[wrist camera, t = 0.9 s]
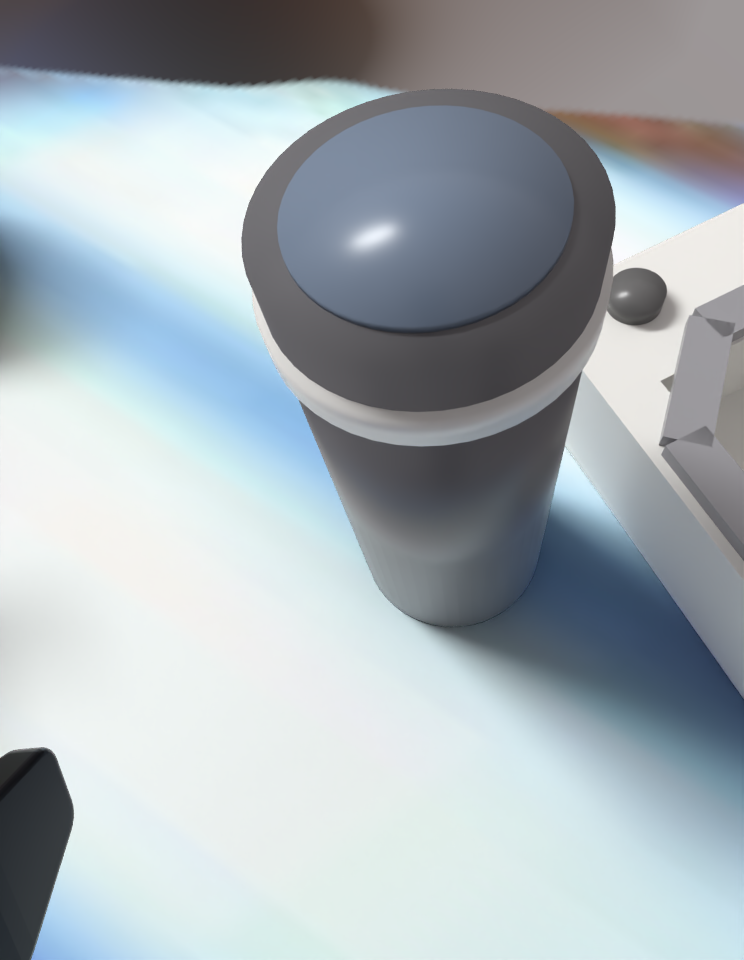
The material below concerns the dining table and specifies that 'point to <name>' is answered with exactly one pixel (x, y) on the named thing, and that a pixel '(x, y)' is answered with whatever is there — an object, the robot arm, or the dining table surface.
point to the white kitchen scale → (676, 422)
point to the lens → (436, 327)
